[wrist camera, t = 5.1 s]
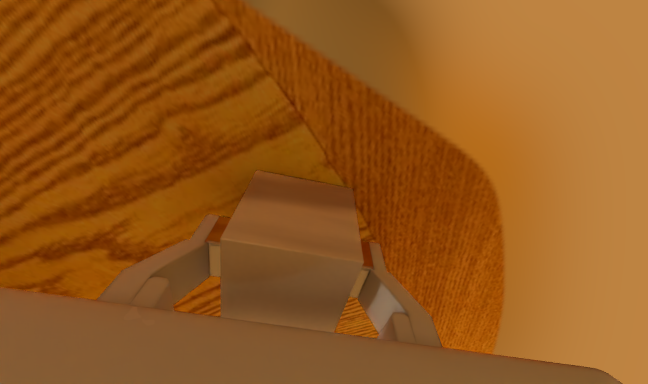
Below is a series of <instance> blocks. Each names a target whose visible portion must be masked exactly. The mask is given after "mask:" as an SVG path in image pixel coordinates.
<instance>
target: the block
mask: <svg viewBox="0 0 648 384" xmlns="http://www.w3.org/2000/svg"><path fill="white" fill-rule="evenodd" d="M363 263H364V260H363V254H362V247H361V240H360V233H359V226H358V220H357V213H356V206H355V199H354V193H353V189H352V188H347V187H341V186H336V185H331V184H326V183H321V182H316V181H311V180H305V179H300V178H295V177H290V176H285V175H280V174H274V173H269V172H264V171H259V170H256V172H255V174H254V176H253V178H252V180H251V181H250V183H249V185H248V187H247V189H246V191H245V193H244V195H243V197H242V198H241V200H240V202H239V204H238V206H237V208H236V210H235V212H234V214H233V215H232V217H231V219H230V221H229V223H228V225H227V227H226V229H225V231H224V232H223V234H222V236H221V238H220V268H221V317H223V318H231V319H238V320H245V321H253V322H260V323H267V324H274V325H282V326H289V327H296V328H303V329H311V330H318V331H326V332H333V333H334V331H335V329H336V326H337V324H338V322H339V319H340V317H341V315H342V312H343V310H344V308H345V305H346V303H347V301H348V298H349V296H350V294H351V291H352V289H353V286H354V284H355V282H356V279H357V277H358V275H359V272H360V270H361V268H362V265H363Z"/></svg>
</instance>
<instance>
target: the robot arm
mask: <svg viewBox="0 0 648 384" xmlns="http://www.w3.org/2000/svg"><path fill="white" fill-rule="evenodd" d="M230 219H231V218H230V217H225V216H218V215H213V214H208V215H206V216H205V218H204V219H203V221H202V222H201V224H200V225H199V226H198V228H197V229H196V231H195V232H194V234H193V235H192V237H191V238H190V240H187V239H185V240H183V241H181V242H179V243H177V244H175V245H173V246H171V247H169V248H167V249H165V250H163V251H161V252H159V253H157V254H155V255H152V256H150V257H148V258H146V259H144V260H142V261H140V262H138V263H136V264H134V265H132V266H130V267H128V268H126V269H124V270H122V271H121V272H120V273H119V275H118V276H117V277H116V278H115V279H114V280H113V281H112V283H111V284H110V285H109V286H108V287H107V288H106V289H105V291H104V292H103V293H102V294H101V295H100V296H99V297H98V299H97V300H92V299H84V298H77V297H70V296H62V295H55V294H48V293H41V292H33V291H26V290H19V289H11V288H4V287H0V384H622V383H621V382H620V381H618V380H617V379H615V378H613V377H612V376H611V375H609V374H608V373H606V372H604V371H601V370H598V369H595V368H589V367H582V366H575V365H567V364H560V363H553V362H545V361H538V360H530V359H523V358H516V357H508V356H501V355H494V354H486V353H479V352H472V351H465V350H457V349H450V348H443V347H442V345H441V342H440V339H439V336H438V334H437V331H436V328H435V325H434V322H433V320H432V317H431V316H430V315H429V313H428V312H427V311H426V310H425V309H424V308H423V307H422V306H421V305H420V304H419V303H418V302H417V301H416V300H415V299H414V297H413V296H412V295H411V294H410V293H409V292H408V291H407V290H406V289H405V288H404V287H403V286H402V285H401V284H400V283H399V281H398V280H397V279H396V278H395V277H394V276H393V275H392V274H391V273H389V272H387V270H386V266H385V262H384V258H383V254H382V250H381V246H380V244H379V243H374V242H367V241H361V247H362V254H363V260H364V263H363V265H362V268H361V270H360V272H359V275H358V277H357V279H356V282H355V284H354V286H353V289H352V291H351V294H350V296H349V297H355V298H358V301H359V302H360V304H361V306H362V307H363V309H364V311H365V312H366V314H367V315H368V317H369V319H370V320H371V322H372V324H373V325H374V327H375V329H376V330H377V332H378V333H379V336H378V337H377V338H370V337H362V336H355V335H348V334H340V333H333V332H326V331H318V330H311V329H303V328H296V327H289V326H282V325H274V324H267V323H260V322H253V321H245V320H238V319H231V318H223V317H216V316H209V315H201V314H194V313H187V312H180V311H174V306H173V305H174V304H175V303H177V302H178V301H179V300H181V299H182V298H183V297H184V296H186V295H187V294H188V293H189V292H191V291H192V290H193V289H194V288H196V287H197V286H198V285H200V284H201V283H202V282H203V281H205V280H206V279H207V278H208V277H209V276H217V277H221V268H220V238H221V236H222V234H223V232H224V231H225V229H226V227H227V225H228V223H229V221H230Z"/></svg>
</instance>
